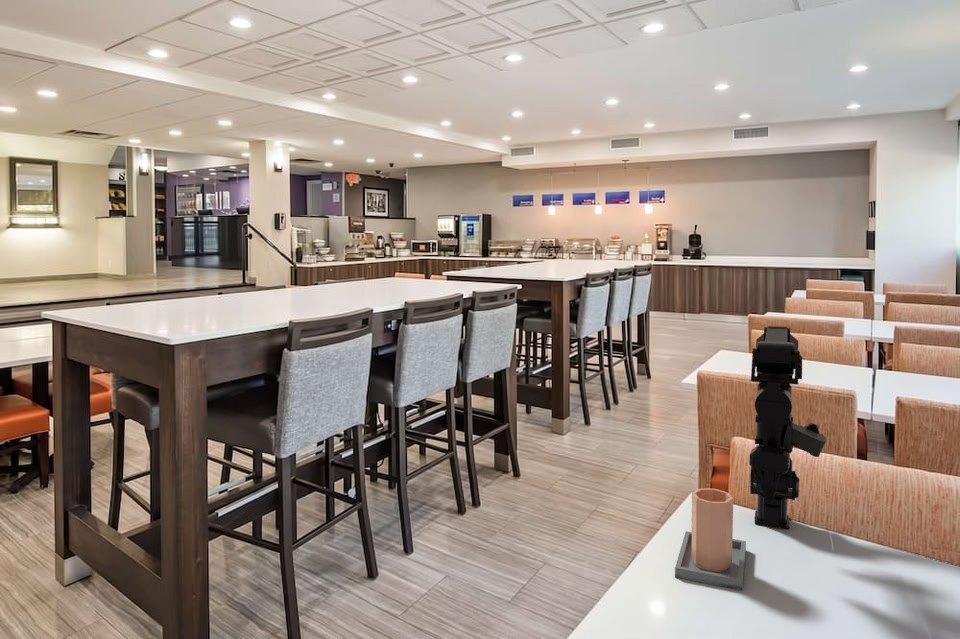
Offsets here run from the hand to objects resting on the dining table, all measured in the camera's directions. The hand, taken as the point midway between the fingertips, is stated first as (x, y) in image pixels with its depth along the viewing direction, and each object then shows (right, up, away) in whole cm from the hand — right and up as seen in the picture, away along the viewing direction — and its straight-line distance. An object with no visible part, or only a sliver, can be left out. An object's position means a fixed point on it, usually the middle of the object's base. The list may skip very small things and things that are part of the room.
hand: (771, 492), depth 114 cm
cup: (-12, -12, -3) cm, 18 cm away
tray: (-12, -13, -1) cm, 17 cm away
